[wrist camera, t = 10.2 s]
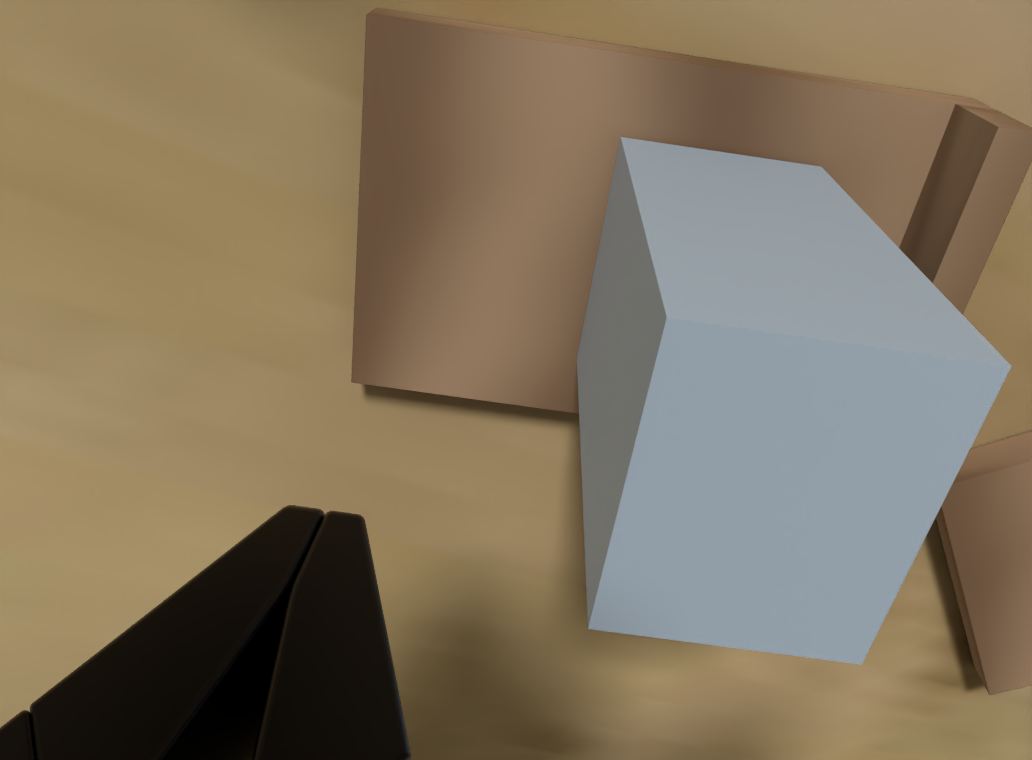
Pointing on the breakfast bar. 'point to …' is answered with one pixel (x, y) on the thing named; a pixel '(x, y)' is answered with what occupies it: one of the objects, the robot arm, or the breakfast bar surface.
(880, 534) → the blue block
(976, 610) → the plinth
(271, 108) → the breakfast bar surface
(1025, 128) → the plinth
